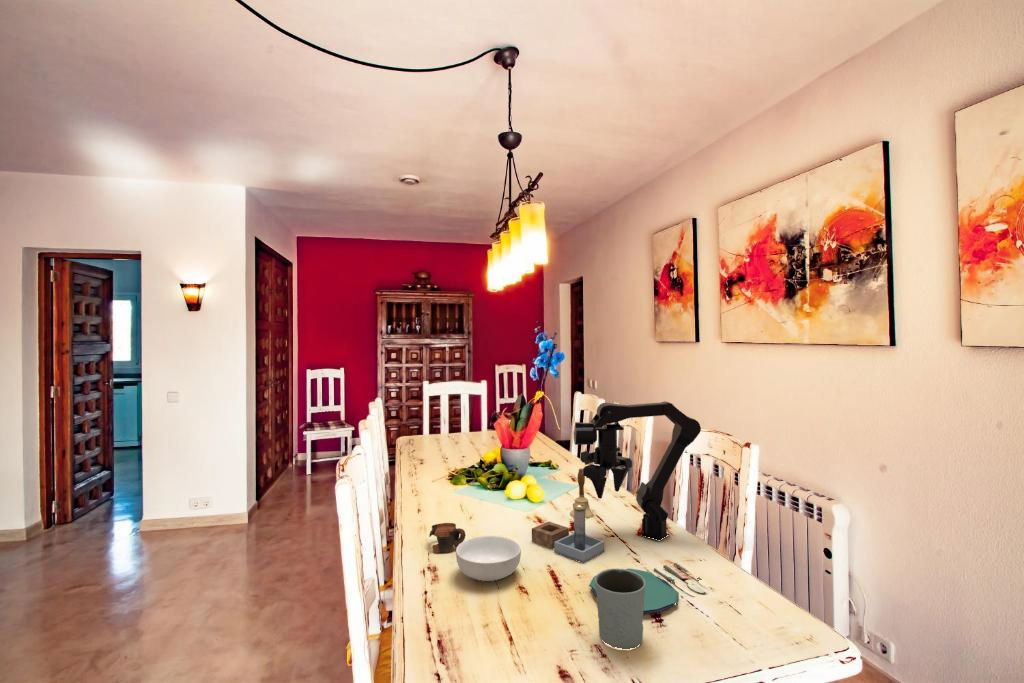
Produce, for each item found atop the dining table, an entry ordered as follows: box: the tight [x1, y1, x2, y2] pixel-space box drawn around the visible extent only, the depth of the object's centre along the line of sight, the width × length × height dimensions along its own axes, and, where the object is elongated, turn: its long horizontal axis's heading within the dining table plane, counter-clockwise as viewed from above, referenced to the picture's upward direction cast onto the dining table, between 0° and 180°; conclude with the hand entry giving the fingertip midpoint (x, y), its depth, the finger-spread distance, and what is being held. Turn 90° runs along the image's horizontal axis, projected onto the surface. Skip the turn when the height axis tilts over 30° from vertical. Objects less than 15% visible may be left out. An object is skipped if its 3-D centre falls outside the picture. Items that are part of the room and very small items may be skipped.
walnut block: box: [531, 521, 570, 550], centre depth 148 cm, size 8×8×4 cm
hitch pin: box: [572, 502, 586, 551], centre depth 140 cm, size 4×4×13 cm
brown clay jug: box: [428, 522, 466, 554], centre depth 146 cm, size 12×10×8 cm
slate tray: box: [553, 532, 606, 564], centre depth 140 cm, size 10×10×3 cm
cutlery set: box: [588, 562, 703, 615], centre depth 118 cm, size 20×30×2 cm, turn 112°
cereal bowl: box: [455, 535, 522, 582], centre depth 128 cm, size 17×17×7 cm
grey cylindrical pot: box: [595, 568, 646, 649], centre depth 99 cm, size 10×10×12 cm
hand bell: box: [569, 468, 595, 519], centre depth 171 cm, size 8×8×16 cm
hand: (608, 494), depth 151 cm, fingers open, 9 cm apart
